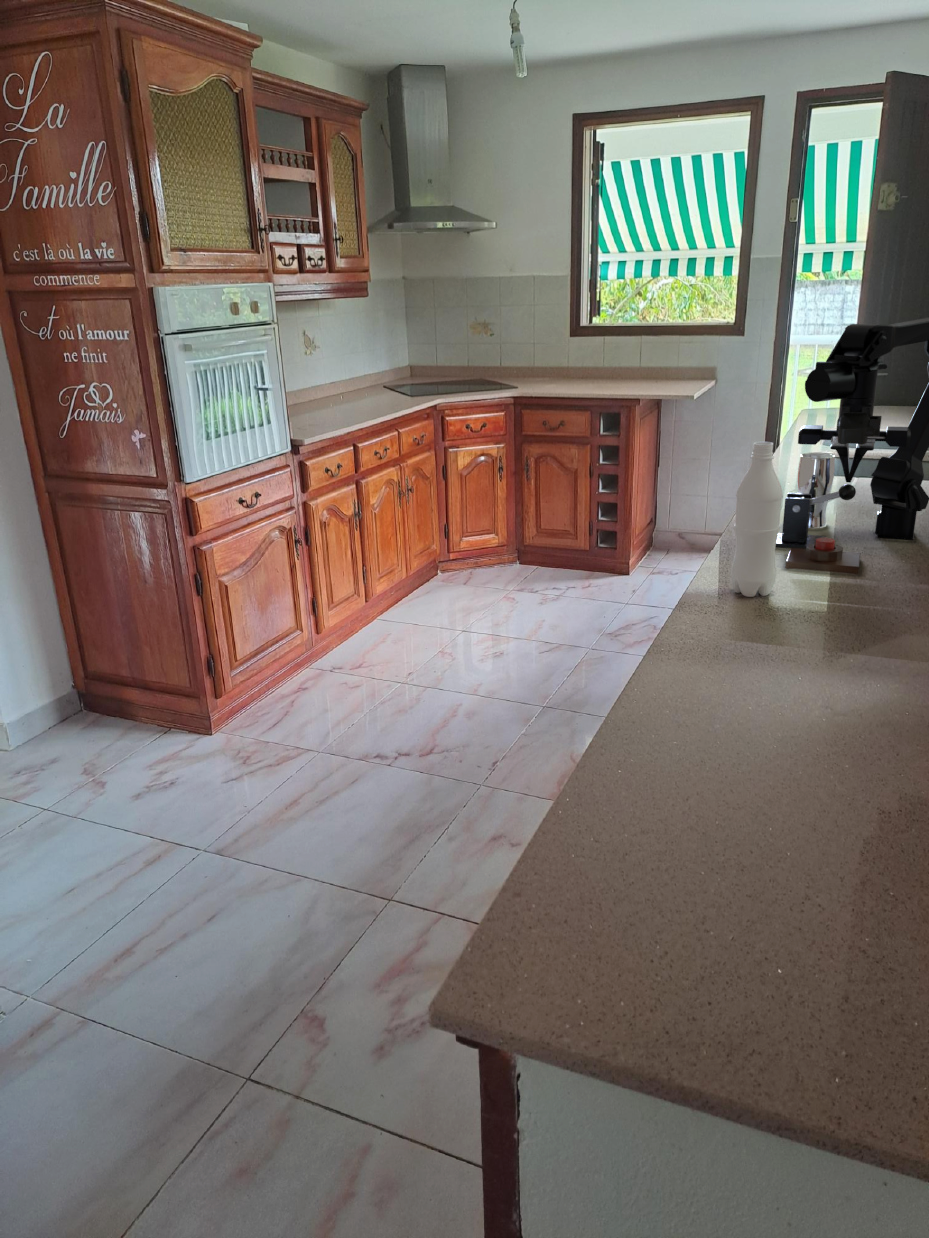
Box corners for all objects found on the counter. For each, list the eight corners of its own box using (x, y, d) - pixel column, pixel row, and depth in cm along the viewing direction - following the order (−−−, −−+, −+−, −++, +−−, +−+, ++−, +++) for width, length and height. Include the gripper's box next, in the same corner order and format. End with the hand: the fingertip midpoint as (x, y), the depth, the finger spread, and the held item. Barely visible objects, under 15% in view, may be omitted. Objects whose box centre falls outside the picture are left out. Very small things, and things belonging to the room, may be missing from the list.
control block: (859, 561, 161) (861, 543, 160) (858, 576, 153) (860, 556, 152) (790, 556, 166) (791, 538, 165) (785, 570, 158) (787, 551, 157)
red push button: (834, 547, 159) (835, 538, 159) (833, 552, 157) (834, 542, 156) (815, 546, 161) (816, 537, 160) (814, 551, 158) (815, 541, 157)
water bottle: (776, 600, 144) (790, 447, 135) (731, 598, 145) (741, 447, 137) (771, 586, 150) (784, 439, 142) (728, 585, 152) (737, 439, 143)
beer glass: (823, 522, 187) (830, 451, 182) (832, 530, 181) (840, 458, 176) (789, 522, 188) (795, 452, 183) (797, 531, 182) (804, 458, 176)
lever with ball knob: (857, 495, 166) (853, 480, 166) (857, 499, 164) (853, 484, 163) (793, 512, 172) (789, 498, 171) (791, 516, 170) (787, 501, 169)
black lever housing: (825, 541, 174) (830, 492, 170) (822, 552, 167) (828, 502, 164) (767, 537, 178) (771, 490, 175) (762, 548, 171) (766, 499, 168)
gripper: (799, 402, 156) (791, 489, 162) (916, 403, 149) (904, 494, 154) (804, 394, 166) (797, 476, 171) (914, 395, 158) (903, 480, 164)
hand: (848, 482), depth 165 cm, fingers closed
